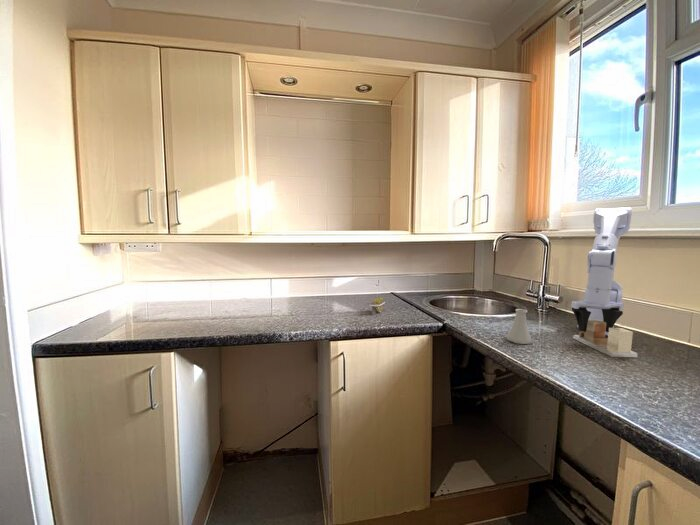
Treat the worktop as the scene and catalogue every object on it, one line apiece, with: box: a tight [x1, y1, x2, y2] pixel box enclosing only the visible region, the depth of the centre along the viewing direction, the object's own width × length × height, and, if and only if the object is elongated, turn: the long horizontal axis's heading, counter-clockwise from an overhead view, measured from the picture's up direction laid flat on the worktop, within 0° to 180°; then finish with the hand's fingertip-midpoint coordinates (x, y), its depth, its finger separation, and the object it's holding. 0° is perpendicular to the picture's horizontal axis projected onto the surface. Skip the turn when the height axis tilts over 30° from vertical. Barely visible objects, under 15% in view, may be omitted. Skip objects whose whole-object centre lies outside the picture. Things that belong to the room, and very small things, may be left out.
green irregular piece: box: [369, 297, 386, 316], centre depth 126 cm, size 12×18×7 cm, turn 154°
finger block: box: [584, 319, 606, 341], centre depth 95 cm, size 4×4×6 cm
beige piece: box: [572, 327, 639, 358], centre depth 92 cm, size 15×7×7 cm, turn 179°
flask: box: [506, 308, 533, 345], centre depth 96 cm, size 7×7×10 cm
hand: (594, 331), depth 95 cm, fingers open, 7 cm apart
